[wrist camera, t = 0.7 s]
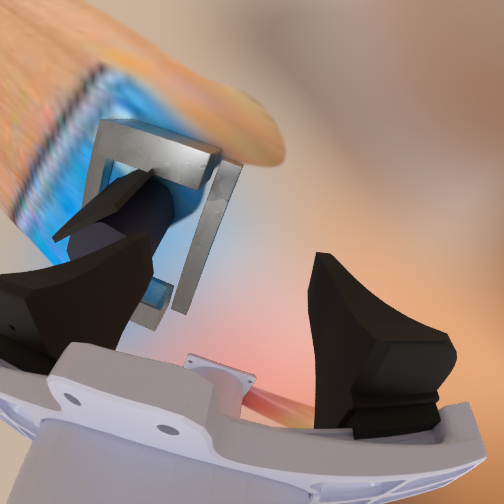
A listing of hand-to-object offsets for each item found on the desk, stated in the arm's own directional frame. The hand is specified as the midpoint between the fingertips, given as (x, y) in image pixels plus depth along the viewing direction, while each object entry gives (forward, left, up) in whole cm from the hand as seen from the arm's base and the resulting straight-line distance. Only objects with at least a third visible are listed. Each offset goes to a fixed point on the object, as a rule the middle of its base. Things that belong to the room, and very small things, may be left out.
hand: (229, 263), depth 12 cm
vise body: (-5, +7, -11) cm, 14 cm away
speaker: (-4, +7, -12) cm, 14 cm away
